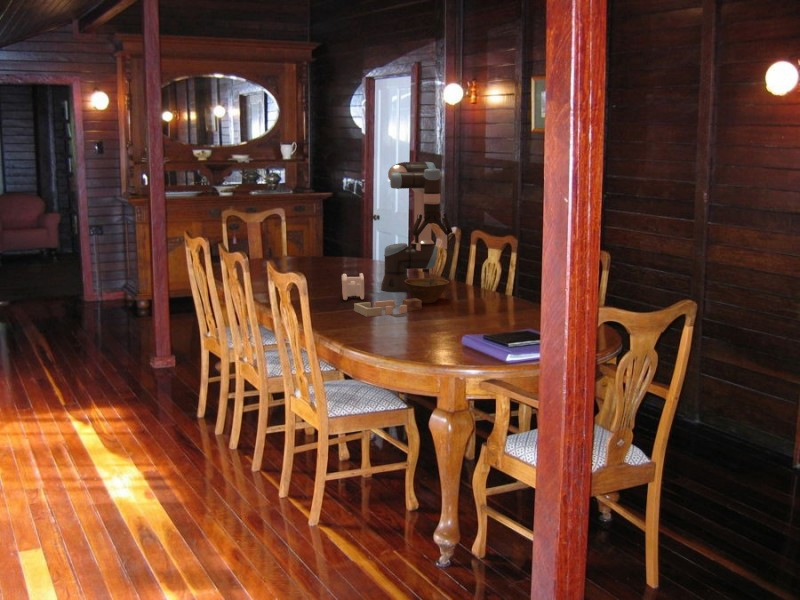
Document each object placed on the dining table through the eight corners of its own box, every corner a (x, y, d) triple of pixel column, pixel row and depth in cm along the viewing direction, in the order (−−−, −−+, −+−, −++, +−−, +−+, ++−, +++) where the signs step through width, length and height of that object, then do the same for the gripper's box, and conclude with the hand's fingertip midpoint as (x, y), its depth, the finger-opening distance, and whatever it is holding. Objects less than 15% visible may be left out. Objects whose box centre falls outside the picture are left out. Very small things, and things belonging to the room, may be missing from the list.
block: (416, 307, 428) (416, 298, 427) (421, 310, 422) (421, 300, 421) (402, 308, 425) (402, 299, 424) (407, 311, 420) (407, 301, 419)
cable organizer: (364, 301, 442) (364, 277, 440) (342, 301, 441) (342, 277, 439) (363, 295, 457) (363, 272, 455) (341, 295, 456) (341, 272, 454)
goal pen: (369, 309, 422) (369, 302, 421) (382, 315, 410) (382, 307, 409) (354, 311, 419) (354, 303, 418) (366, 316, 407) (366, 309, 406)
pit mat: (404, 314, 414) (404, 313, 414) (409, 316, 409) (409, 315, 409) (390, 316, 411) (390, 314, 411) (395, 318, 406) (395, 317, 406)
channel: (393, 307, 427) (393, 300, 427) (406, 312, 415) (406, 305, 414) (373, 309, 423) (373, 301, 422) (386, 314, 411) (386, 307, 410)
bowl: (456, 299, 447) (457, 279, 446) (438, 307, 427) (438, 286, 425) (415, 295, 457) (415, 275, 455) (395, 303, 436) (396, 282, 434)
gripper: (452, 201, 428) (451, 247, 432) (403, 203, 417) (403, 249, 421) (460, 202, 421) (459, 248, 425) (411, 204, 411) (410, 251, 415)
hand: (431, 249), depth 423 cm, fingers open, 13 cm apart
